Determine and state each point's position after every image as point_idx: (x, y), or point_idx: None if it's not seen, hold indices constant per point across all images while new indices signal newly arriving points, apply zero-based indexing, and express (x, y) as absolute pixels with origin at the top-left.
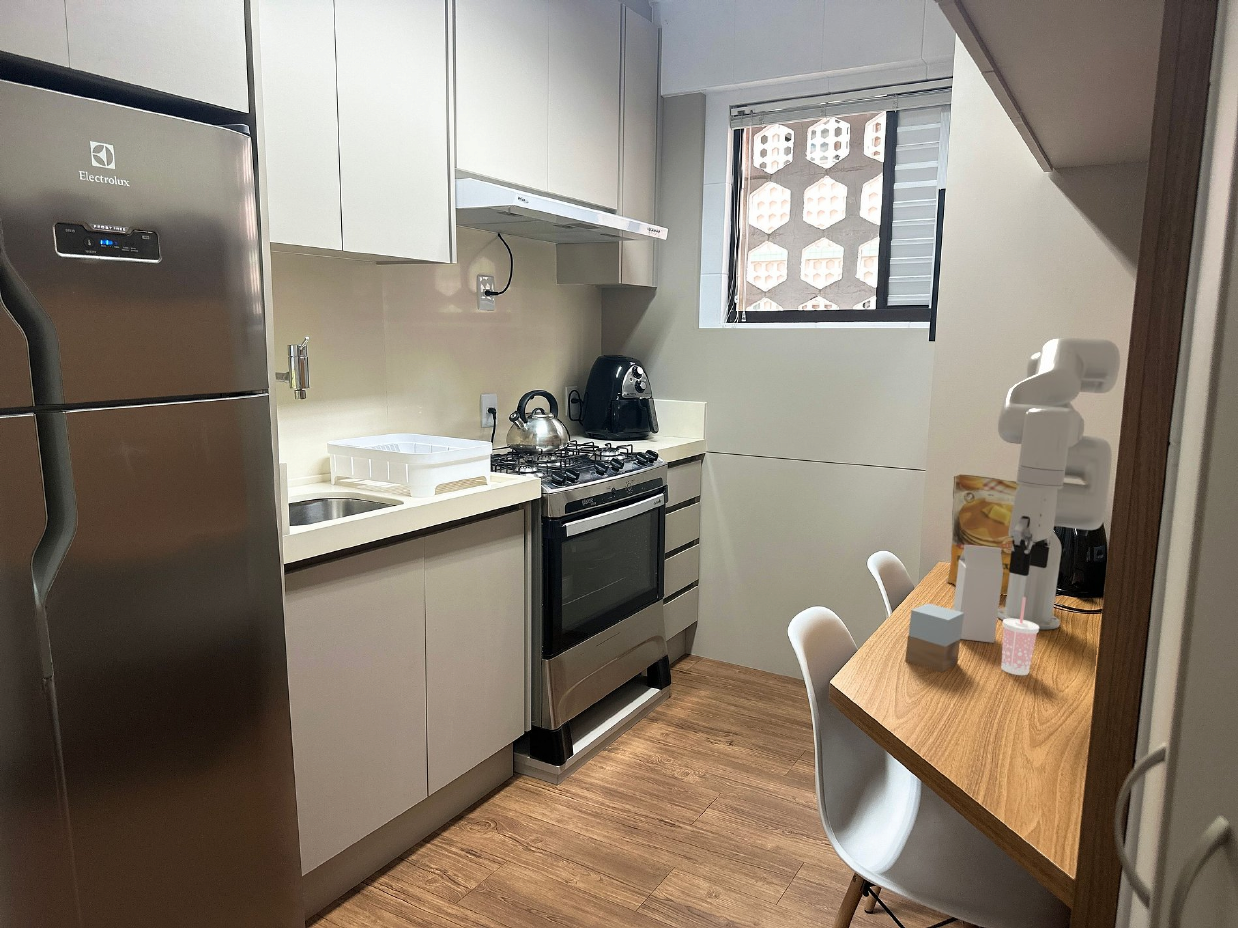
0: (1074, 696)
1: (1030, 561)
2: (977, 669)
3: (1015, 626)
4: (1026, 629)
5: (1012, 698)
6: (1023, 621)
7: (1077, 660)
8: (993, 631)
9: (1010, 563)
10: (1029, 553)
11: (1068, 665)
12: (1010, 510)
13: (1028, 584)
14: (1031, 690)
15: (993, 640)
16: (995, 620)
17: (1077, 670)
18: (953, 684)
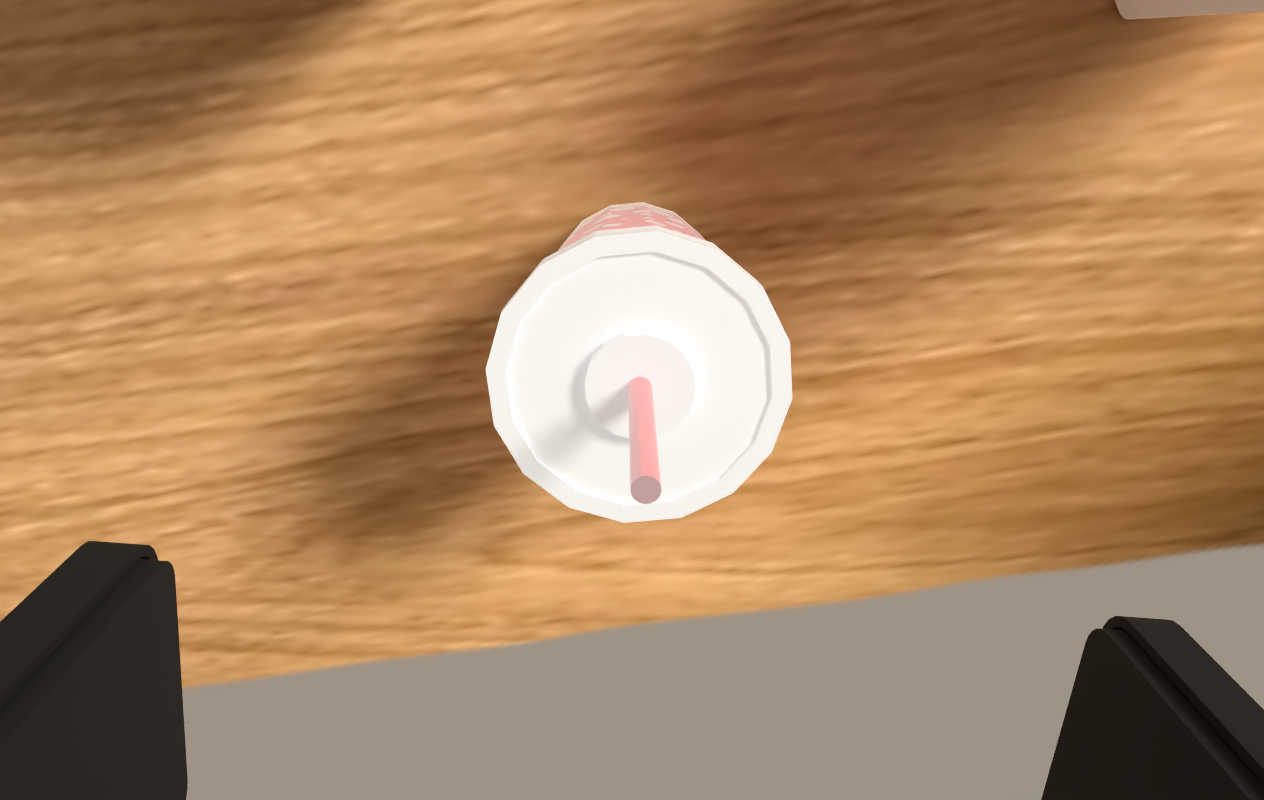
0: (469, 619)
1: (1110, 690)
2: (445, 89)
3: (535, 361)
4: (513, 454)
5: (137, 388)
6: (761, 376)
7: (1126, 526)
8: (1161, 2)
9: (1, 633)
10: (1215, 761)
11: (986, 505)
12: None
13: None
14: (360, 438)
15: (1125, 14)
16: (1221, 2)
17: (928, 558)
18: (25, 49)
